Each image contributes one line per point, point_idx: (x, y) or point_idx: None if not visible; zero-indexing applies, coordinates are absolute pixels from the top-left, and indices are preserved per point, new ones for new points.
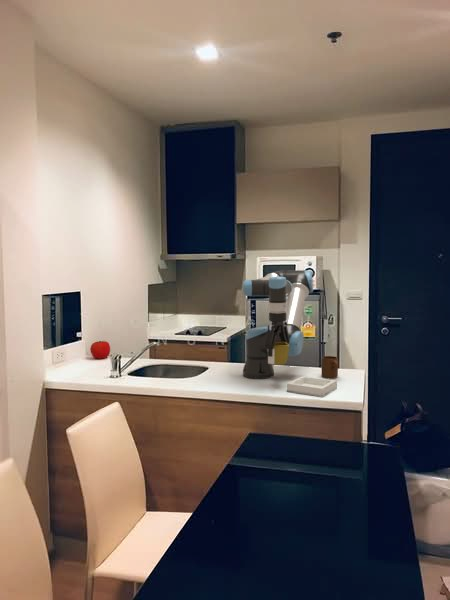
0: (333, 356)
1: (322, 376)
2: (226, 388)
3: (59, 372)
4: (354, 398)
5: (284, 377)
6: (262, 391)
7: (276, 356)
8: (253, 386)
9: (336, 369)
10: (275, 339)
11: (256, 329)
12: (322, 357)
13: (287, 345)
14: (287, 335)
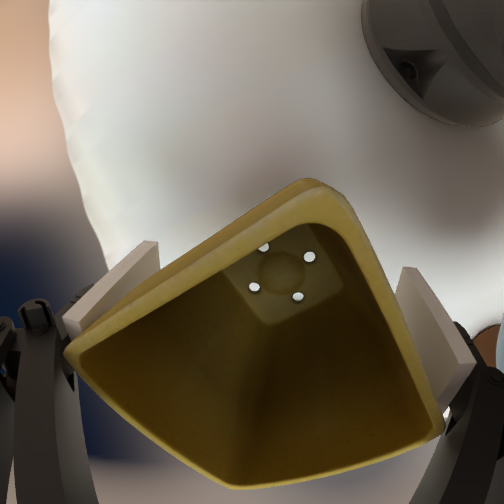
0: None
1: (480, 335)
2: (108, 27)
3: None
4: None
5: (460, 186)
6: (140, 192)
7: (179, 331)
8: (200, 103)
9: (449, 412)
10: (83, 478)
11: None
12: None
13: (219, 483)
14: (486, 497)
